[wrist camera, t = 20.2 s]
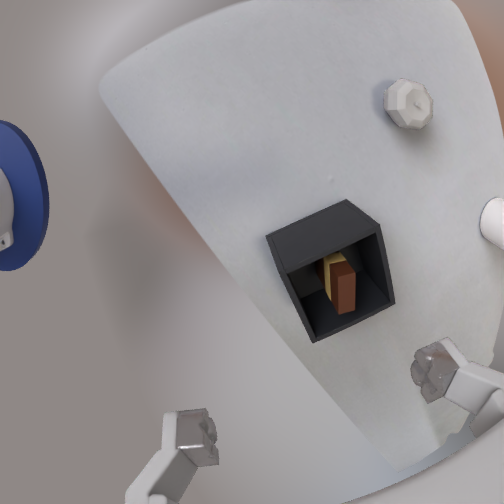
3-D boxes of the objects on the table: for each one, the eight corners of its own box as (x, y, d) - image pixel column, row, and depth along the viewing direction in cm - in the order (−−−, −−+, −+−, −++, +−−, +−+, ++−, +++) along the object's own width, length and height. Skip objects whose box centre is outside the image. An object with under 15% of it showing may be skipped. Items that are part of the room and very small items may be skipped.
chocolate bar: (315, 273, 47) (338, 315, 37) (312, 239, 44) (337, 276, 34) (330, 270, 47) (355, 310, 37) (327, 236, 44) (356, 272, 34)
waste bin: (296, 301, 50) (312, 343, 40) (265, 235, 44) (278, 271, 34) (366, 268, 49) (395, 303, 39) (346, 198, 43) (379, 224, 33)
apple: (365, 112, 37) (387, 113, 31) (383, 69, 34) (406, 65, 28) (404, 137, 39) (429, 143, 33) (420, 97, 36) (446, 98, 30)
